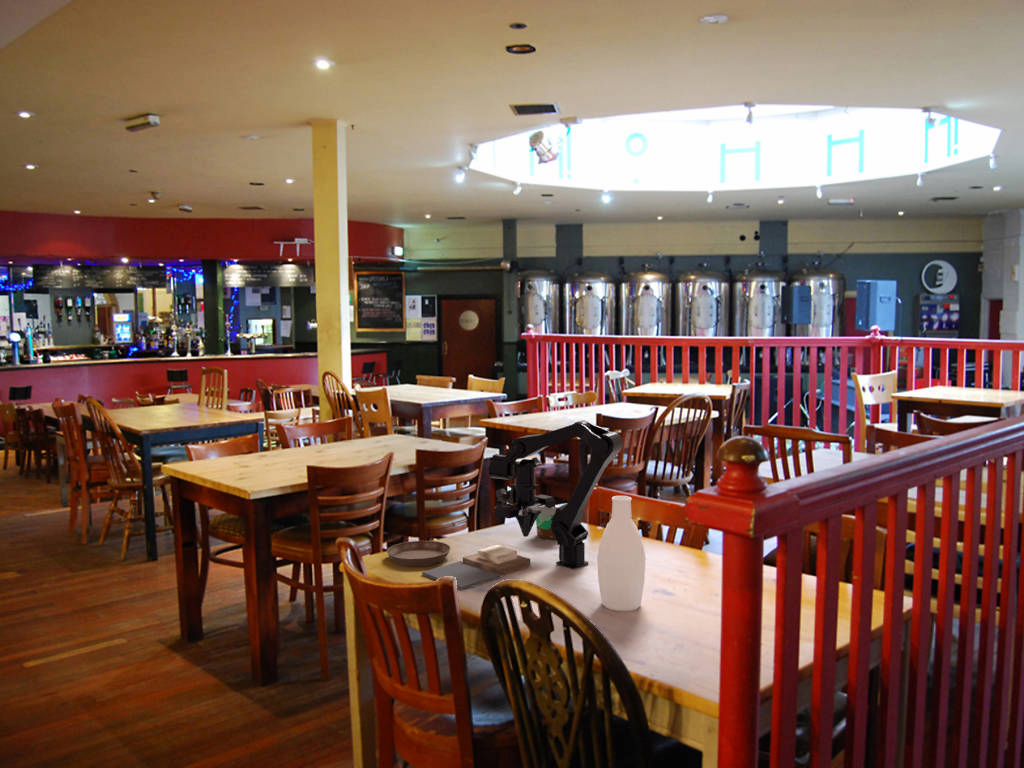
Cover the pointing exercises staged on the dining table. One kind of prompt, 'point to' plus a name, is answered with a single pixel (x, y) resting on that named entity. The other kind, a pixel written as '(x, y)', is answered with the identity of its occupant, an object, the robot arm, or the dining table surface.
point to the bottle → (621, 560)
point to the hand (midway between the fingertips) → (525, 536)
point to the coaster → (497, 554)
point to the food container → (545, 522)
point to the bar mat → (462, 574)
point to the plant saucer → (418, 553)
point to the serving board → (498, 568)
